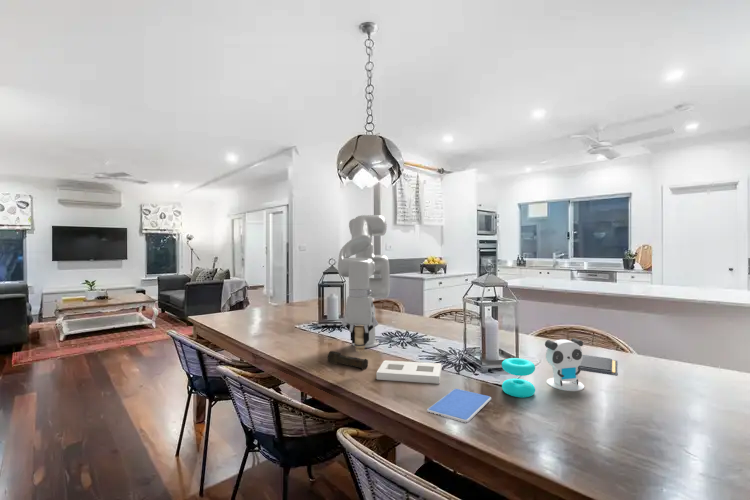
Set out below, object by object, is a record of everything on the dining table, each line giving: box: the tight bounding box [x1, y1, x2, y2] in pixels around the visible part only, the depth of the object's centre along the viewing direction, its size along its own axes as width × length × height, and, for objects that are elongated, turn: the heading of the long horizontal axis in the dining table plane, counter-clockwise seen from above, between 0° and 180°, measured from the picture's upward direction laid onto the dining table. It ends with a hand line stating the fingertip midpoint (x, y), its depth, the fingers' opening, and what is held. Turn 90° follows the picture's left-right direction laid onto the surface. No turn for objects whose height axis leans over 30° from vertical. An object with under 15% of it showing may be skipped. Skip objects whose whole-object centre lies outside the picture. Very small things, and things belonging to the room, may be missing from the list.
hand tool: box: [327, 350, 369, 371], centre depth 152 cm, size 19×4×5 cm, turn 55°
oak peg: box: [354, 325, 366, 353], centre depth 141 cm, size 4×4×9 cm
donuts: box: [501, 357, 536, 399], centre depth 122 cm, size 10×10×10 cm
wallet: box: [578, 354, 619, 377], centre depth 148 cm, size 20×2×15 cm
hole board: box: [376, 360, 442, 385], centre depth 139 cm, size 14×22×2 cm, turn 77°
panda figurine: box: [544, 337, 585, 392], centre depth 128 cm, size 12×11×15 cm
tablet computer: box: [426, 388, 492, 424], centre depth 113 cm, size 19×13×1 cm, turn 143°
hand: (359, 342), depth 141 cm, fingers closed on oak peg, 4 cm apart
